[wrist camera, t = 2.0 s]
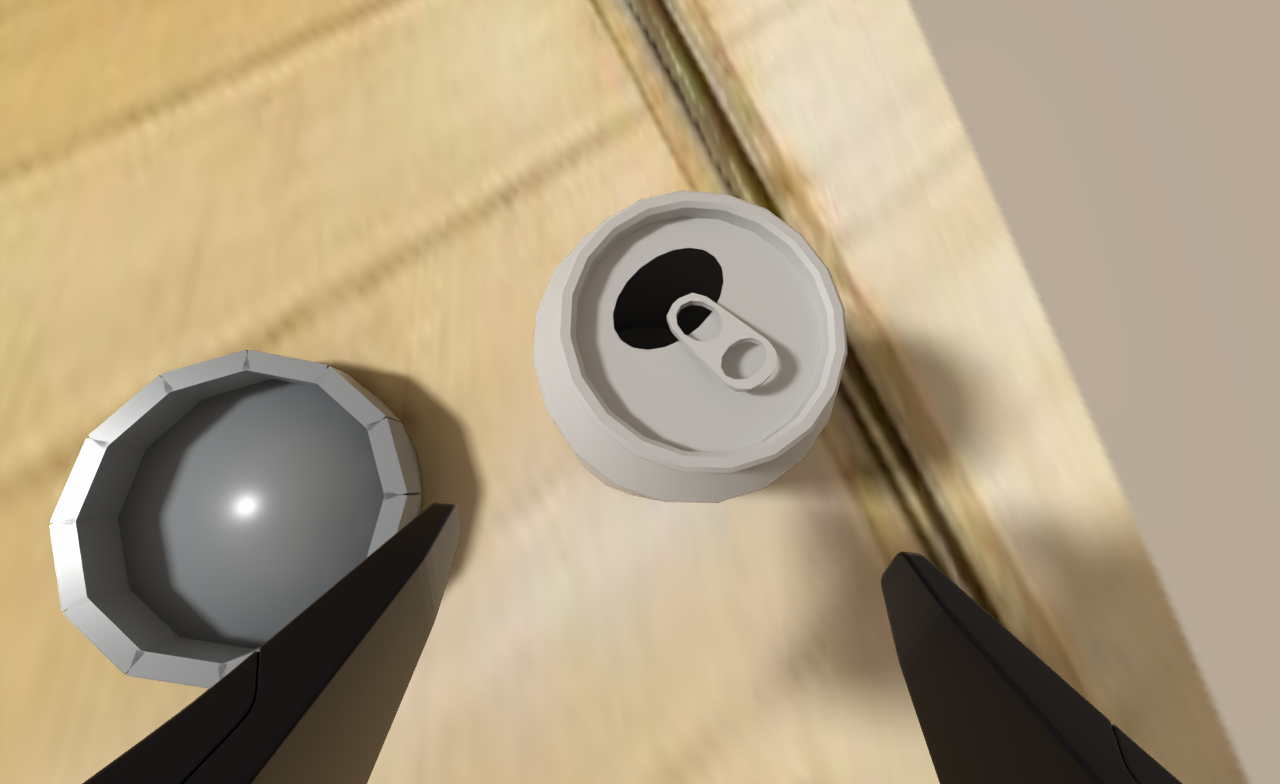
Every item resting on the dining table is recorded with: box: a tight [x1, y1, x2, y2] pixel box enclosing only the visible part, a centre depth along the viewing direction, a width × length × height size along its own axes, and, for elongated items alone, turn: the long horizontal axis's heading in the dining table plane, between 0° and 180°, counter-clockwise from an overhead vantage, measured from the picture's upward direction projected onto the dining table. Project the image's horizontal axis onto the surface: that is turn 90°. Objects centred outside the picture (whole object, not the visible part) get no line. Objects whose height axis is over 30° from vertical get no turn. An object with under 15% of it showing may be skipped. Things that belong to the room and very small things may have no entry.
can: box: [533, 191, 848, 503], centre depth 15 cm, size 8×8×12 cm
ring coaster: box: [49, 350, 422, 688], centre depth 18 cm, size 12×12×2 cm
